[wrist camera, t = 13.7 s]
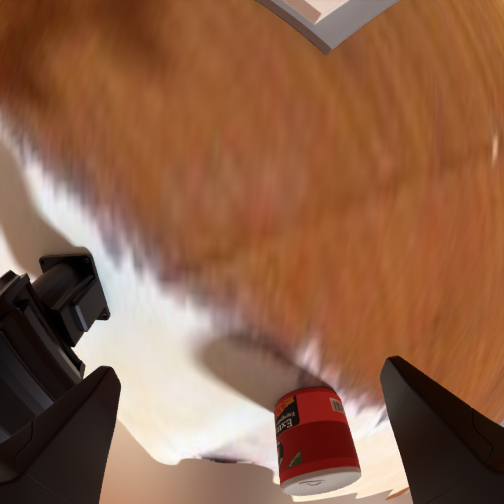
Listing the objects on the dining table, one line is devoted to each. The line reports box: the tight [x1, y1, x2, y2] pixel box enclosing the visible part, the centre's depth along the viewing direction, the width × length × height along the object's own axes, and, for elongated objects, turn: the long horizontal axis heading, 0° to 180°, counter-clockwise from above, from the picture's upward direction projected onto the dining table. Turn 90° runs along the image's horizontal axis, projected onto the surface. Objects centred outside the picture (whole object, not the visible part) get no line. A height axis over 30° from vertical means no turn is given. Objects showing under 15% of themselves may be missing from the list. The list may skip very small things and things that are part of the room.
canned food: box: [274, 387, 361, 496], centre depth 23 cm, size 8×8×11 cm
